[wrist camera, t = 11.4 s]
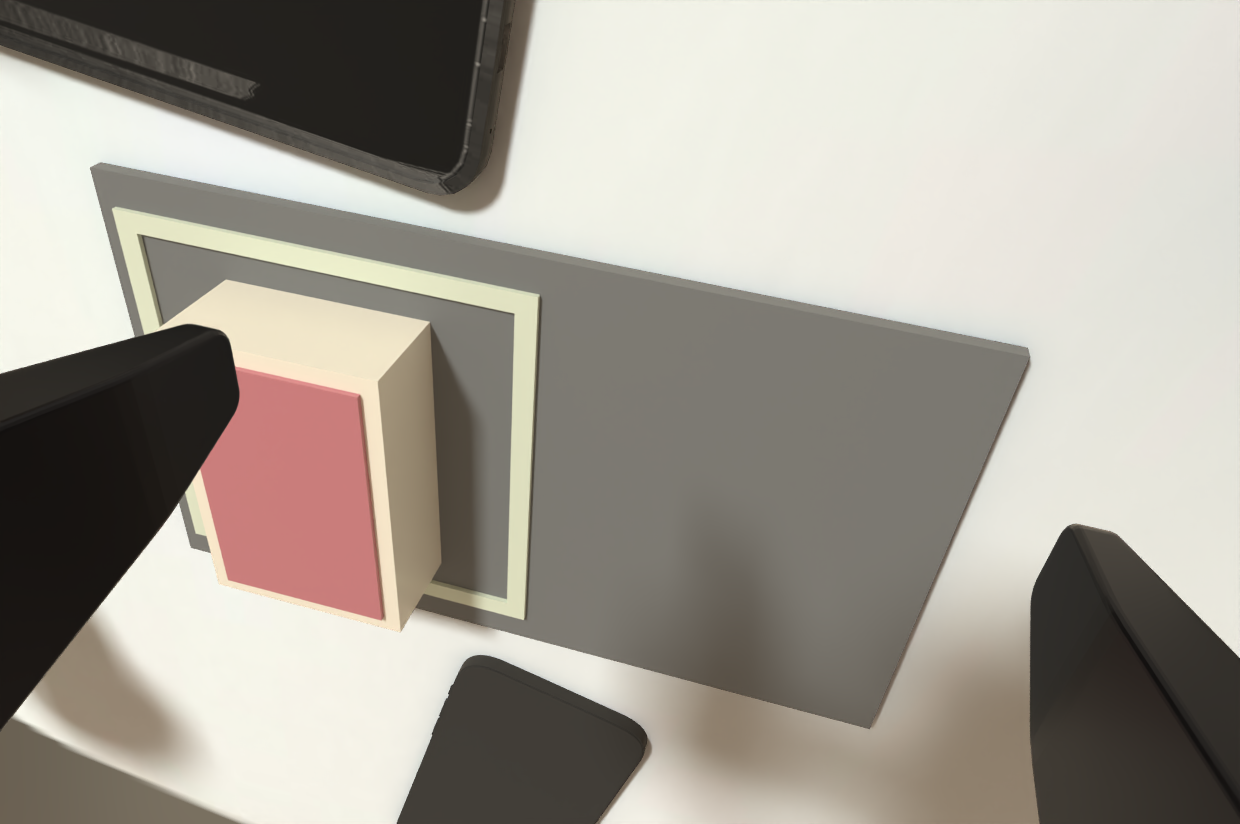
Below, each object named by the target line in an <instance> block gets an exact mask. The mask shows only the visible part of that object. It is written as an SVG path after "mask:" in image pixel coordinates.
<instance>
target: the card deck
mask: <svg viewBox="0 0 1240 824" xmlns="http://www.w3.org/2000/svg"><path fill="white" fill-rule="evenodd" d="M182 324H197V325H201V326H205V327H210V328H214V329H218V330H221V331H222V332H224V333H225V334H226V335H227V337H228V338H229V340H230V343H231V348H232V353H233V358H234V364H235V369H236V374H237V379H238V384H239V390H240V398H239V404H238V407H237V410H236V412H235V414H234V416H233V417H232V419H231V421H230V422H229V424H228V425H227V427H226V429H225V430H224V432H223V433H222V435H221V436H220V438H219V440H218V441H217V443H216V444H215V446H214V448H213V449H212V451H211V452H210V454H209V456H208V457H207V459H206V460H205V462H204V464H203V465H202V467H201V468H200V470H199V471H198V473H197V475H196V476H195V478H194V479H193V481H192V482H193V486H194V490H195V493H196V497H197V501H198V505H199V509H200V513H201V517H202V520H203V524H204V528H205V532H206V536H207V540H208V544H209V547H210V551H211V555H212V559H213V563H214V567H215V571H216V574H217V578H218V582H219V584H221V585H224V586H228V587H232V588H236V589H239V590H243V591H247V592H251V593H254V594H258V595H262V596H266V597H269V598H273V599H277V600H281V601H284V602H288V603H292V604H296V605H300V606H303V607H307V608H311V609H315V610H318V611H322V612H326V613H330V614H333V615H337V616H341V617H345V618H348V619H352V620H356V621H360V622H363V623H367V624H371V625H375V626H378V627H382V628H386V629H390V630H394V631H397V632H401V631H402V629H403V628H404V626H405V624H406V622H407V621H408V619H409V617H410V616H411V614H412V612H413V611H414V609H415V607H416V605H417V604H418V602H419V600H420V599H421V597H422V595H423V594H424V592H425V590H426V588H427V587H428V585H429V583H430V582H431V580H432V578H433V577H434V575H435V573H436V571H437V570H438V568H439V566H440V565H441V563H442V562H441V541H440V520H439V499H438V478H437V457H436V436H435V415H434V394H433V373H432V352H431V331H430V322H428V321H423V320H419V319H414V318H409V317H404V316H399V315H395V314H390V313H385V312H380V311H375V310H371V309H366V308H361V307H356V306H351V305H346V304H342V303H337V302H332V301H327V300H322V299H318V298H313V297H308V296H303V295H298V294H294V293H289V292H284V291H279V290H274V289H270V288H265V287H260V286H255V285H250V284H245V283H241V282H236V281H231V280H225V281H223V282H222V283H220V284H219V285H218V286H216V287H215V288H213V289H212V290H211V291H209V292H208V293H207V294H205V295H204V296H202V297H201V298H200V299H198V300H197V301H196V302H194V303H193V304H191V305H190V306H189V307H187V308H186V309H184V310H183V311H182V312H180V313H179V314H178V315H176V316H175V317H173V318H172V319H171V320H169V321H168V322H167V323H165V324H164V325H162V326H161V327H160V328H158V329H157V330H155V331H154V332H157V331H160V330H164V329H168V328H171V327H175V326H179V325H182Z"/></svg>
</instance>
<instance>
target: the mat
mask: <svg viewBox="0 0 1240 824" xmlns="http://www.w3.org/2000/svg"><path fill="white" fill-rule="evenodd" d="M90 170H91V174H92V177H93V181H94V185H95V189H96V192H97V196H98V200H99V204H100V207H101V211H102V215H103V219H104V222H105V226H106V230H107V234H108V237H109V241H110V245H111V249H112V252H113V256H114V260H115V264H116V268H117V271H118V275H119V279H120V283H121V286H122V290H123V294H124V298H125V301H126V305H127V309H128V313H129V316H130V320H131V324H132V328H133V331H134V335H135V337H138V336H142V335H145V334H149V333H153V332H154V331H155V330H157V329H158V328H160V327H161V326H162V325H164V324H165V323H167V322H168V321H169V320H171V319H172V318H173V317H175V316H176V315H178V314H179V313H180V312H182V311H183V310H184V309H186V308H187V307H189V306H190V305H191V304H193V303H194V302H196V301H197V300H198V299H200V298H201V297H202V296H204V295H205V294H207V293H208V292H209V291H211V290H212V289H213V288H215V287H216V286H218V285H219V284H220V283H222V282H223V281H225V280H231V281H236V282H241V283H245V284H250V285H255V286H260V287H265V288H270V289H274V290H279V291H284V292H289V293H294V294H298V295H303V296H308V297H313V298H318V299H322V300H327V301H332V302H337V303H342V304H346V305H351V306H356V307H361V308H366V309H371V310H375V311H380V312H385V313H390V314H395V315H399V316H404V317H409V318H414V319H419V320H423V321H428V322H430V331H431V352H432V373H433V394H434V415H435V436H436V457H437V478H438V499H439V520H440V541H441V562H442V563H441V565H440V566H439V568H438V570H437V571H436V573H435V575H434V577H433V578H432V580H431V582H430V583H429V585H428V587H427V588H426V590H425V592H424V594H423V595H422V597H421V599H420V600H419V602H418V604H417V605H416V607H415V608H419V609H422V610H426V611H430V612H434V613H437V614H441V615H445V616H449V617H452V618H456V619H460V620H464V621H467V622H471V623H475V624H479V625H482V626H486V627H490V628H494V629H497V630H501V631H505V632H509V633H512V634H516V635H520V636H524V637H527V638H531V639H535V640H538V641H542V642H546V643H550V644H553V645H557V646H561V647H565V648H568V649H572V650H576V651H580V652H583V653H587V654H591V655H595V656H598V657H602V658H606V659H610V660H613V661H617V662H621V663H625V664H628V665H632V666H636V667H640V668H643V669H647V670H651V671H655V672H658V673H662V674H666V675H669V676H673V677H677V678H681V679H684V680H688V681H692V682H696V683H699V684H703V685H707V686H711V687H714V688H718V689H722V690H726V691H729V692H733V693H737V694H741V695H744V696H748V697H752V698H756V699H759V700H763V701H767V702H771V703H774V704H778V705H782V706H786V707H789V708H793V709H797V710H800V711H804V712H808V713H812V714H815V715H819V716H823V717H827V718H830V719H834V720H838V721H842V722H845V723H849V724H853V725H857V726H860V727H864V728H868V729H870V727H871V724H872V722H873V720H874V717H875V715H876V713H877V710H878V708H879V706H880V704H881V701H882V699H883V697H884V694H885V692H886V690H887V687H888V685H889V683H890V680H891V678H892V676H893V673H894V671H895V669H896V666H897V664H898V662H899V659H900V657H901V655H902V652H903V650H904V648H905V646H906V643H907V641H908V639H909V636H910V634H911V632H912V629H913V627H914V625H915V622H916V620H917V618H918V615H919V613H920V611H921V608H922V606H923V604H924V601H925V599H926V597H927V595H928V592H929V590H930V588H931V585H932V583H933V581H934V578H935V576H936V574H937V571H938V569H939V567H940V564H941V562H942V560H943V557H944V555H945V553H946V550H947V548H948V546H949V543H950V541H951V539H952V537H953V534H954V532H955V530H956V527H957V525H958V523H959V520H960V518H961V516H962V513H963V511H964V509H965V506H966V504H967V502H968V499H969V497H970V495H971V492H972V490H973V488H974V485H975V483H976V481H977V479H978V476H979V474H980V472H981V469H982V467H983V465H984V462H985V460H986V458H987V455H988V453H989V451H990V448H991V446H992V444H993V441H994V439H995V437H996V434H997V432H998V430H999V428H1000V425H1001V423H1002V421H1003V418H1004V416H1005V414H1006V411H1007V409H1008V407H1009V404H1010V402H1011V400H1012V397H1013V395H1014V393H1015V390H1016V388H1017V386H1018V383H1019V381H1020V379H1021V376H1022V374H1023V372H1024V370H1025V367H1026V365H1027V363H1028V360H1029V358H1030V355H1029V350H1028V348H1026V347H1021V346H1016V345H1011V344H1006V343H1001V342H996V341H991V340H986V339H981V338H976V337H971V336H966V335H961V334H956V333H951V332H946V331H941V330H936V329H931V328H926V327H921V326H916V325H911V324H906V323H901V322H896V321H891V320H886V319H881V318H876V317H871V316H866V315H861V314H856V313H851V312H846V311H841V310H836V309H831V308H826V307H821V306H816V305H811V304H806V303H801V302H796V301H791V300H786V299H781V298H776V297H771V296H766V295H761V294H756V293H751V292H746V291H741V290H736V289H731V288H726V287H721V286H716V285H711V284H706V283H701V282H696V281H691V280H686V279H681V278H676V277H671V276H666V275H661V274H656V273H651V272H646V271H641V270H636V269H631V268H626V267H621V266H616V265H611V264H606V263H601V262H596V261H591V260H586V259H581V258H576V257H571V256H566V255H561V254H556V253H551V252H546V251H541V250H536V249H531V248H526V247H521V246H516V245H511V244H506V243H501V242H496V241H491V240H486V239H481V238H476V237H471V236H466V235H461V234H456V233H451V232H446V231H441V230H436V229H431V228H426V227H421V226H416V225H411V224H406V223H401V222H396V221H391V220H386V219H381V218H376V217H371V216H366V215H361V214H356V213H351V212H346V211H341V210H336V209H331V208H326V207H321V206H316V205H311V204H306V203H301V202H296V201H291V200H286V199H281V198H276V197H271V196H266V195H261V194H256V193H251V192H246V191H241V190H236V189H231V188H226V187H221V186H216V185H211V184H206V183H201V182H196V181H191V180H186V179H181V178H176V177H171V176H166V175H161V174H156V173H151V172H146V171H141V170H136V169H131V168H126V167H121V166H116V165H111V164H106V163H99V164H96V165H94V166H92V167H90ZM179 504H180V508H181V512H182V516H183V519H184V523H185V527H186V531H187V534H188V538H189V542H190V546H191V548H194V549H198V550H202V551H205V552H209V553H211V551H210V547H209V544H208V540H207V536H206V532H205V528H204V524H203V520H202V517H201V513H200V509H199V505H198V501H197V497H196V493H195V490H194V486H193V482H192V483H191V484H190V486H189V487H188V489H187V491H186V492H185V494H184V495H183V497H182V499H181V500H180V502H179Z"/></svg>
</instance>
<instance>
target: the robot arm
mask: <svg viewBox="0 0 1240 824" xmlns="http://www.w3.org/2000/svg"><path fill="white" fill-rule="evenodd" d="M239 398H240V390H239V384H238V379H237V374H236V369H235V364H234V358H233V353H232V348H231V343H230V340H229V338H228V337H227V335H226V334H225V333H224V332H222V331H221V330H218V329H214V328H210V327H205V326H201V325H197V324H182V325H179V326H175V327H171V328H168V329H164V330H160V331H157V332H153V333H149V334H145V335H142V336H138V337H134V338H131V339H127V340H123V341H119V342H116V343H112V344H108V345H105V346H101V347H97V348H94V349H90V350H86V351H82V352H79V353H75V354H71V355H68V356H64V357H60V358H57V359H53V360H49V361H45V362H42V363H38V364H34V365H31V366H27V367H23V368H20V369H16V370H12V371H8V372H5V373H1V374H0V731H1V730H2V729H3V728H4V726H5V725H6V724H7V722H8V721H9V720H10V719H11V717H12V716H13V715H14V714H15V712H16V711H17V710H18V709H19V707H20V706H21V705H22V704H23V702H24V701H25V700H26V698H27V697H28V696H29V695H30V693H31V692H32V691H33V690H34V688H35V687H36V686H37V685H38V683H39V682H40V681H41V679H42V678H43V677H44V676H45V674H46V673H47V672H48V671H49V669H50V668H51V667H52V666H53V664H54V663H55V662H56V660H57V659H58V658H59V657H60V655H61V654H62V653H63V652H64V650H65V649H66V648H67V647H68V645H69V644H70V643H71V641H72V640H73V639H74V638H75V636H76V635H77V634H78V633H79V631H80V630H81V629H82V628H83V626H84V625H85V624H86V622H87V621H88V620H89V619H90V617H91V616H92V615H93V614H94V612H95V611H96V610H97V609H98V607H99V606H100V605H101V603H102V602H103V601H104V600H105V598H106V597H107V596H108V595H109V593H110V592H111V591H112V590H113V588H114V587H115V586H116V585H117V583H118V582H119V581H120V579H121V578H122V577H123V576H124V574H125V573H126V572H127V571H128V569H129V568H130V567H131V566H132V564H133V563H134V562H135V560H136V559H137V558H138V557H139V555H140V554H141V553H142V552H143V550H144V549H145V548H146V547H147V545H148V544H149V543H150V541H151V540H152V539H153V538H154V536H155V535H156V534H157V533H158V531H159V530H160V529H161V527H162V526H163V525H164V523H165V522H166V520H167V519H168V518H169V516H170V515H171V513H172V512H173V510H174V509H175V507H176V506H177V504H178V503H179V502H180V500H181V499H182V497H183V495H184V494H185V492H186V491H187V489H188V487H189V486H190V484H191V483H192V481H193V479H194V478H195V476H196V475H197V473H198V471H199V470H200V468H201V467H202V465H203V464H204V462H205V460H206V459H207V457H208V456H209V454H210V452H211V451H212V449H213V448H214V446H215V444H216V443H217V441H218V440H219V438H220V436H221V435H222V433H223V432H224V430H225V429H226V427H227V425H228V424H229V422H230V421H231V419H232V417H233V416H234V414H235V412H236V410H237V407H238V404H239ZM1030 743H1031V754H1032V765H1033V774H1034V782H1035V790H1036V798H1037V807H1038V815H1039V823H1040V824H1240V658H1239V657H1238V656H1237V655H1236V654H1235V653H1234V652H1233V651H1232V650H1231V649H1230V648H1229V647H1228V646H1227V645H1226V644H1225V643H1224V642H1223V641H1222V640H1221V639H1220V638H1219V637H1218V636H1217V635H1216V634H1215V633H1214V632H1213V631H1212V630H1211V628H1210V627H1209V626H1208V625H1207V624H1206V623H1205V622H1204V621H1203V620H1202V619H1201V618H1200V617H1199V616H1198V615H1197V614H1196V613H1195V612H1194V611H1193V610H1192V609H1191V608H1190V607H1189V606H1188V605H1187V604H1186V603H1185V602H1184V601H1183V600H1182V599H1181V598H1180V597H1179V596H1178V595H1177V594H1176V593H1175V592H1174V591H1173V590H1172V589H1171V588H1170V587H1169V586H1168V585H1167V584H1166V583H1165V582H1164V581H1163V580H1162V579H1161V578H1160V577H1159V576H1158V575H1157V574H1156V573H1155V572H1154V571H1153V570H1152V569H1151V568H1150V567H1149V566H1148V565H1147V564H1146V563H1145V562H1144V561H1143V560H1142V559H1141V558H1140V557H1139V556H1138V555H1137V554H1136V553H1135V552H1134V551H1133V550H1132V549H1131V548H1130V547H1129V546H1128V545H1127V544H1126V543H1125V542H1124V541H1123V540H1122V539H1121V538H1120V537H1119V536H1118V535H1117V534H1115V533H1113V532H1111V531H1107V530H1103V529H1098V528H1094V527H1089V526H1085V525H1080V524H1072V525H1069V526H1067V527H1066V528H1065V529H1064V530H1063V532H1062V533H1061V535H1060V536H1059V538H1058V540H1057V542H1056V544H1055V546H1054V548H1053V549H1052V551H1051V553H1050V555H1049V557H1048V559H1047V561H1046V563H1045V565H1044V566H1043V568H1042V570H1041V572H1040V574H1039V576H1038V578H1037V580H1036V582H1035V585H1034V588H1033V592H1032V597H1031V621H1030Z"/></svg>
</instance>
